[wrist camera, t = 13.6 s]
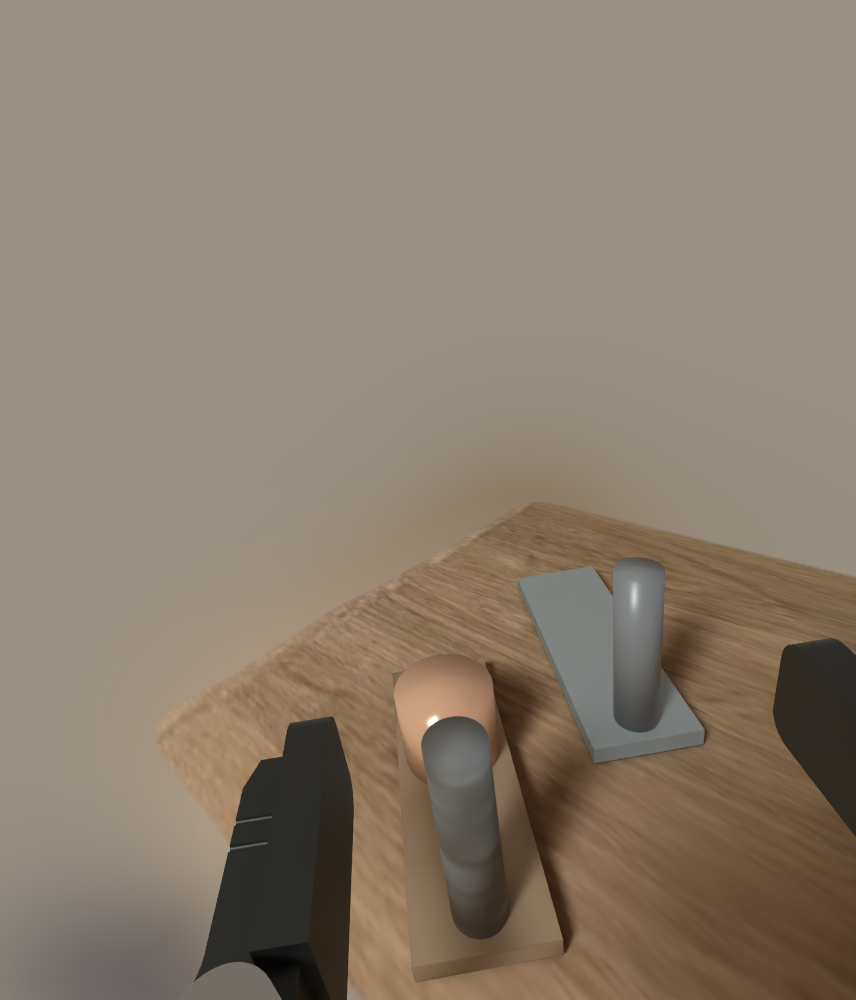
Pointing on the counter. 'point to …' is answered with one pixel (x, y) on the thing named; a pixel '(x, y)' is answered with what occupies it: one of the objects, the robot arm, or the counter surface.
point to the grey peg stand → (612, 657)
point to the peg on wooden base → (470, 856)
